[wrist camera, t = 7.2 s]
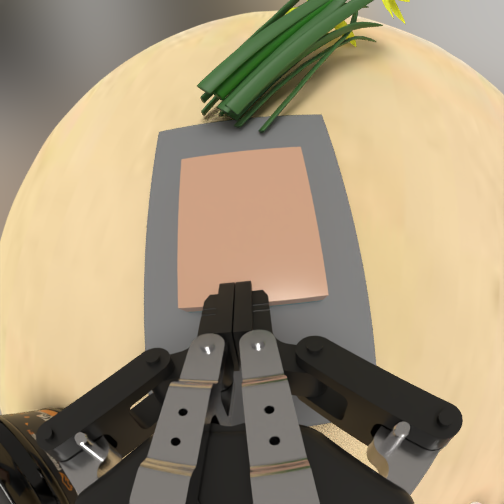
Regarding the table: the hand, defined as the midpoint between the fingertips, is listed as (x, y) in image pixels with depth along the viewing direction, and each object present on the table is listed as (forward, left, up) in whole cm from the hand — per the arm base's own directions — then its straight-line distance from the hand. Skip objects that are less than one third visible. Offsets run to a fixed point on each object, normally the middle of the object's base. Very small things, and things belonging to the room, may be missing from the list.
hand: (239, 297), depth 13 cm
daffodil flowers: (+26, -10, -6) cm, 29 cm away
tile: (0, -1, -4) cm, 4 cm away
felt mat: (+4, -1, -6) cm, 7 cm away
